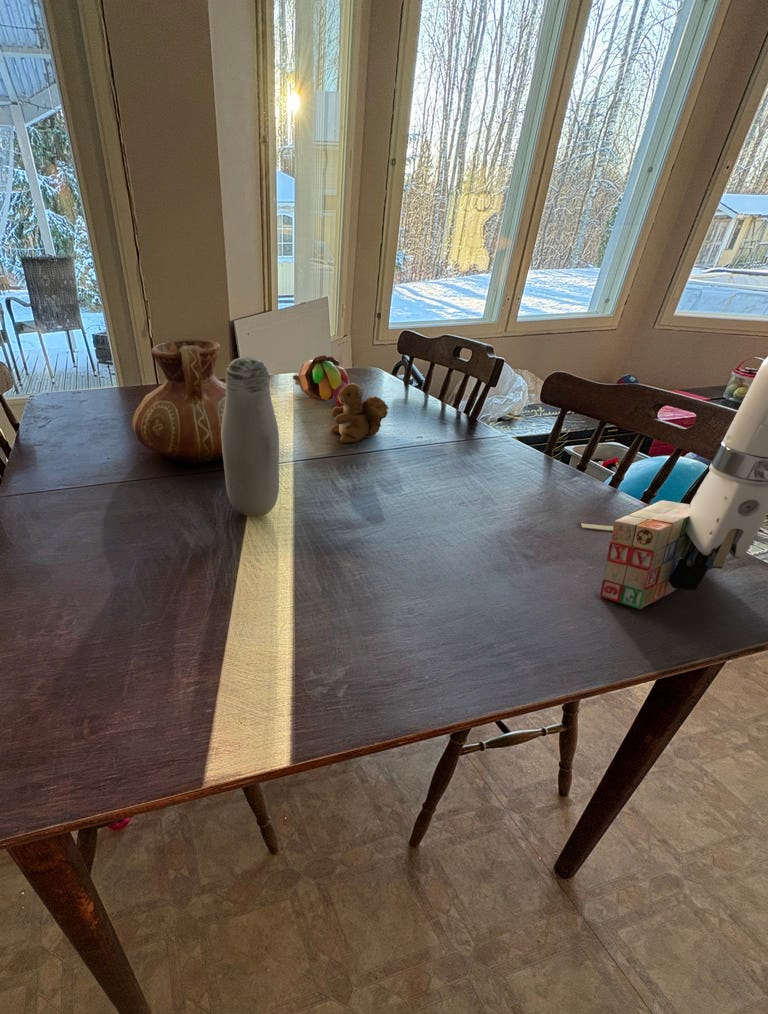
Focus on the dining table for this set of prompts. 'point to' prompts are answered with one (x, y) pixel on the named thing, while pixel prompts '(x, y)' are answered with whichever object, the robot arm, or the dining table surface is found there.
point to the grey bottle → (250, 438)
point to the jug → (184, 404)
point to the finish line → (597, 527)
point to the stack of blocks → (645, 554)
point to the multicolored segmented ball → (322, 378)
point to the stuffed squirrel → (357, 414)
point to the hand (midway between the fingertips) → (681, 585)
